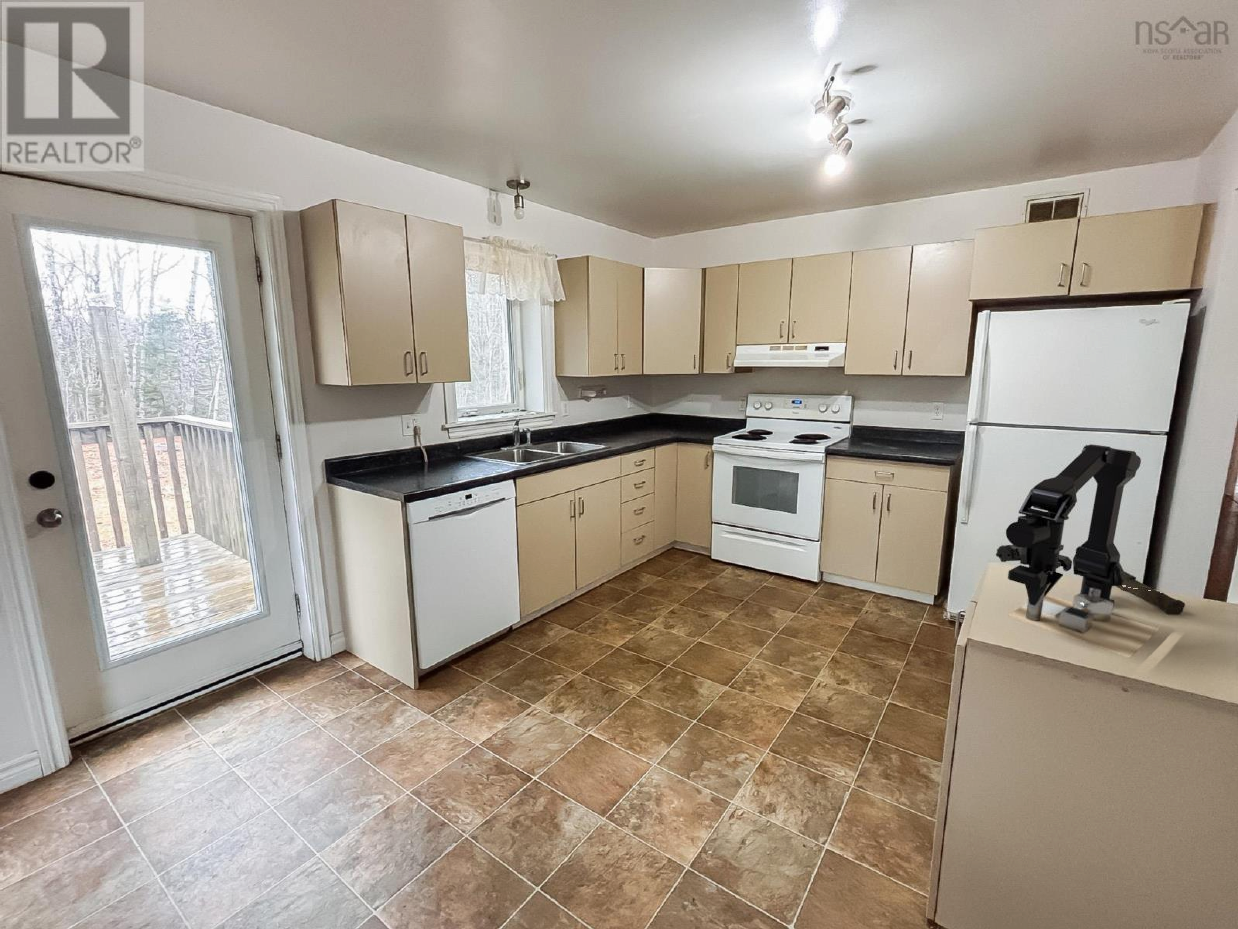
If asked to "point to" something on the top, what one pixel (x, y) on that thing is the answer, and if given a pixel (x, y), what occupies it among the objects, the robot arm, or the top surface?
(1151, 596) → the hand tool
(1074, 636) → the board
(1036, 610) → the metal cylinder
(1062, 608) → the coaster
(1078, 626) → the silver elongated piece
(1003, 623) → the top surface
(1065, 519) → the robot arm
